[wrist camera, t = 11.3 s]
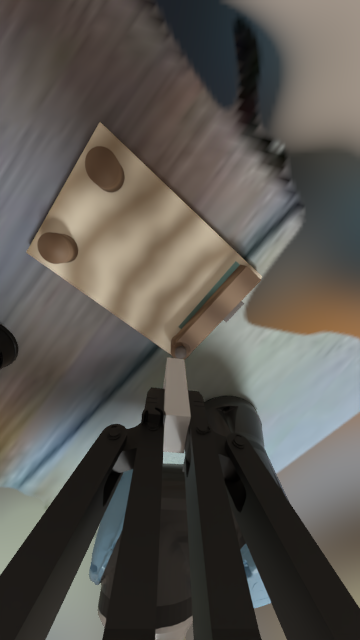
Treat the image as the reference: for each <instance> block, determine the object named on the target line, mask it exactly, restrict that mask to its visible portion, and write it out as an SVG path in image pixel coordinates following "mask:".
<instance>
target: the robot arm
mask: <svg viewBox="0 0 360 640" xmlns="http://www.w3.org/2000/svg"><path fill="white" fill-rule="evenodd" d="M184 450H185V459H184V464H163V452H176V453H184ZM99 524H100V526H99ZM98 526H99V529H98V533H97V537H96V541H95V544H94V549H93V553H92V562H91V567H90V571H89V577H90V580H91V581H93V582H95V584H96V585H99V584H100V583H101V592H100V598H99V604H98V615H99V617H100V619H101V622H102V624H103V626H104V628H105V629H104V634H103V639H102V640H186V637H185V635H186V632H187V630H188V629H189V627H190V625H191V623H192V622H193V633H194V640H262V639H261V637H260V633H259V629H258V625H257V621H256V616H255V612H254V608H257V607H261V606H264V605H267V604H269V603H272V605H273V608H274V610H275V612H276V615H277V617H278V620H279V622H280V624H281V627H282V629H283V631H284V633H285V636H286V638H287V640H360V608H359V607H358V605H357V604H356V602H355V601H354V599H353V598H352V596H351V595H350V593H349V592H348V590H347V589H346V587H345V586H344V584H343V583H342V581H341V580H340V578H339V577H338V575H337V574H336V572H335V571H334V569H333V568H332V566H331V565H330V563H329V562H328V560H327V558H326V557H325V555H324V554H323V553H322V551H321V550H320V548H319V546H318V545H317V543H316V542H315V540H314V539H313V538H312V536H311V534H310V533H309V531H308V530H307V528H306V527H305V525H304V524H303V522H302V521H301V519H300V518H299V516H298V515H297V513H296V512H295V510H294V509H293V507H292V506H291V504H290V503H289V501H288V498H287V496H286V494H285V492H284V490H283V488H282V485H281V483H280V481H279V479H278V477H277V475H276V473H275V471H274V468H273V466H272V464H271V462H270V460H269V458H268V456H267V453H266V451H265V449H264V440H263V433H262V424H261V420H260V418H259V416H258V414H257V412H256V410H255V408H254V407H253V406H252V405H251V404H250V403H249V402H247V401H245V400H243V399H241V398H238V397H232V396H223V397H217V398H214V399H211V400H209V401H207V402H205V403H204V401H203V397H202V395H201V394H200V393H199V392H197V391H188V388H187V379H186V370H185V362H184V359H176V358H167V362H166V370H165V377H164V385H163V389H160V388H151V389H150V390H149V391H148V393H147V398H146V404H145V409H144V411H143V413H142V421H141V423H140V424H139V425H138V426H136V427H134V428H130V429H126V428H125V427H124V426H122V425H120V424H113V425H110V426H108V427H106V428H105V429H104V430H103V431H102V433H101V434H100V435H99V437H98V438H97V440H96V441H95V443H94V444H93V445H92V447H91V448H90V450H89V451H88V452H87V454H86V455H85V457H84V458H83V459H82V461H81V462H80V464H79V465H78V466H77V468H76V469H75V471H74V472H73V474H72V475H71V476H70V478H69V479H68V481H67V482H66V483H65V485H64V486H63V488H62V489H61V490H60V492H59V493H58V495H57V496H56V498H55V499H54V500H53V502H52V503H51V505H50V506H49V507H48V509H47V510H46V512H45V513H44V515H43V516H42V517H41V519H40V520H39V522H38V523H37V524H36V526H35V527H34V529H33V530H32V531H31V533H30V534H29V536H28V537H27V539H26V540H25V541H24V543H23V544H22V545H21V547H20V548H19V550H18V551H17V553H16V554H15V555H14V557H13V558H12V560H11V561H10V562H9V564H8V565H7V567H6V568H5V570H4V571H3V572H2V574H1V575H0V640H45V639H46V637H47V635H48V633H49V631H50V629H51V626H52V624H53V622H54V620H55V618H56V615H57V613H58V612H59V609H60V607H61V605H62V603H63V601H64V599H65V597H66V594H67V592H68V590H69V588H70V586H71V584H72V582H73V580H74V577H75V575H76V573H77V571H78V569H79V567H80V565H81V562H82V560H83V558H84V556H85V554H86V552H87V550H88V548H89V545H90V543H91V541H92V539H93V537H94V535H95V533H96V530H97V528H98Z"/></svg>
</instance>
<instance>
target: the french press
mask: <svg viewBox="0 0 360 640" xmlns="http://www.w3.org/2000/svg"><path fill="white" fill-rule="evenodd" d="M0 352H1V356H2V361H0V369H2V368H3V367H6V366H8V365H10V364H11V363H13V362H14V360H15V359H16V357H17V355H18V345H17V342H16V340H15V338H14V336H13V335H12V334H11V333H10V332H9V331H8V330H7V329H6V328H4V327H3V326H1V325H0Z"/></svg>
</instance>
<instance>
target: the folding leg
mask: <svg viewBox="0 0 360 640" xmlns="http://www.w3.org/2000/svg"><path fill="white" fill-rule="evenodd" d="M260 281H261V279H260V278H259V277H258V276H257V275H256V274H255V273H254V272H253V271H252V270H251V269H250V268H249V267H248V266H245V265H241V264H240V265H239V266H238V267H237V269H236V270H235V271H234V272H233V273H232V274H231V275H230V276H229V277H228V278H227V280H226V281H225V282H224V283H223V284H222V285H221V286H220V287H219V288H218V289H217V290H216V292H215V293H214V294H213V295H212V296H211V297H210V298H209V299H208V300H207V301H206V303H205V304H204V305H203V306H202V307H201V308H200V309H199V310H198V311H197V312H196V314H195V315H194V316H193V317H192V318H191V319H190V320H189V321H188V322H187V323H186V324H185V326H184V327H183V328H182V329H181V330H180V331H179V332H178V333H177V334H176V335H175V336H174V337H173V338H172V340H171V355H172V356H173V357H174V358H176V359H186V358H187V357H188V356H189V355H190V353H191V352H192V351H193V350H194V349H195V348H196V347H197V346H198V345H199V344H200V343H201V342H202V341H203V340H204V339H205V338H206V337H207V336H208V335H209V334H210V333H211V332H212V331H213V330H214V329H215V328H216V326H217V325H218V324H219V323H220V322H221V321H222V320H223V319H224V318H225V317H226V316H227V315H228V314H229V313H230V312H231V311H232V310H233V309H234V308H235V307H236V306H237V305H238V304H239V303H240V302H241V301H242V300H243V298H244V297H245V296H246V295H247V294H248V293H249V292H250V291H251V290H252V289H253V288H254V287H255V286H256V285H257V284H258V283H259V282H260Z"/></svg>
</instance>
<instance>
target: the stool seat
mask: <svg viewBox="0 0 360 640" xmlns="http://www.w3.org/2000/svg"><path fill="white" fill-rule="evenodd" d="M27 253H28V254H29V255H31V256H32V257H34V258H35V259H36V260H38V261H39V262H41V263H42V264H43V265H45V266H46V267H48V268H49V269H51V270H52V271H53V272H55V273H56V274H58V275H59V276H60V277H62V278H63V279H65V280H66V281H68V282H69V283H70V284H72V285H73V286H75V287H76V288H77V289H79V290H80V291H82V292H83V293H84V294H86V295H87V296H89V297H90V298H92V299H93V300H94V301H96V302H97V303H99V304H100V305H101V306H103V307H104V308H106V309H107V310H109V311H110V312H111V313H113V314H114V315H116V316H117V317H118V318H120V319H121V320H123V321H124V322H125V323H127V324H128V325H130V326H131V327H133V328H134V329H135V330H137V331H138V332H140V333H141V334H142V335H144V336H145V337H147V338H148V339H149V340H151V341H152V342H154V343H155V344H157V345H158V346H159V347H161V348H162V349H164V350H165V351H166V352H168V353H169V354H171V340H172V338H173V337H174V336H175V335H176V334H177V333H178V332H179V331H180V330H181V329H182V328H183V327H184V326H185V324H186V323H187V322H188V321H189V320H190V319H191V318H192V317H193V316H194V315H195V314H196V312H197V311H198V310H199V309H200V308H201V307H202V306H203V305H204V304H205V303H206V301H207V300H208V299H209V298H210V297H211V296H212V295H213V294H214V293H215V292H216V290H217V289H218V288H219V287H220V286H221V285H222V284H223V283H224V282H225V281H226V280H227V278H228V277H229V276H230V275H231V274H232V273H233V272H234V271H235V270H236V269H237V267H238V266H239V265H240V264H241V265H245V266H248V267H249V268H250V269H251V270H252V271H253V272H254V273H255V274H256V275H257V276H258V277H259V278H260V279H261V278H262V276H261V275H260V274H259V273H258V272H257V271H256V270H255V269H254V268H252V267H251V266H250V265H249V264H248V263H247V262H246V261H245V260H244V259H243V258H242V257H241V256H240V255H239V254H238V253H237V252H236V251H235V250H234V249H233V248H232V247H230V246H229V245H228V244H227V243H226V242H225V241H224V240H223V239H222V238H221V237H220V236H219V235H218V234H217V233H216V232H215V231H214V230H213V229H212V228H211V227H210V226H208V225H207V224H206V223H205V222H204V221H203V220H202V219H201V218H200V217H199V216H198V215H197V214H196V213H195V212H194V211H193V210H192V209H191V208H190V207H189V206H188V205H186V204H185V203H184V202H183V201H182V200H181V199H180V198H179V197H178V196H177V195H176V194H175V193H174V192H173V191H172V190H171V189H170V188H169V187H168V186H167V185H166V184H164V183H163V182H162V181H161V180H160V179H159V178H158V177H157V176H156V175H155V174H154V173H153V172H152V171H151V170H150V169H149V168H148V167H147V166H146V165H145V164H144V163H142V162H141V161H140V160H139V159H138V158H137V157H136V156H135V155H134V154H133V153H132V152H131V151H130V150H129V149H128V148H127V147H126V146H125V145H124V144H123V143H122V142H121V141H119V140H118V139H117V138H116V137H115V136H114V135H113V134H112V133H111V132H110V131H109V130H108V129H107V128H106V127H105V126H104V125H103V124H102V123H101V122H100V123H99V124H98V126H97V128H96V130H95V131H94V133H93V135H92V137H91V138H90V140H89V142H88V144H87V146H86V147H85V149H84V151H83V153H82V154H81V156H80V158H79V160H78V162H77V163H76V165H75V167H74V169H73V170H72V172H71V174H70V176H69V177H68V179H67V181H66V183H65V185H64V186H63V188H62V190H61V192H60V193H59V195H58V197H57V199H56V201H55V202H54V204H53V206H52V208H51V209H50V211H49V213H48V215H47V217H46V218H45V220H44V222H43V224H42V225H41V227H40V229H39V231H38V232H37V234H36V236H35V238H34V240H33V241H32V243H31V245H30V247H29V248H28V250H27ZM243 304H244V303H243V302H242V301H241V302H240V303H239V304H238V305H237V306H236V307H235V308H234V309H233V310H232V311H231V312H230V313H229V314H228V315H227V316H226V317H225V318H224V319H223V320H224V321H225V322H227V321H228V320H229V319H230V318H231V317H232V316H233V315H234V314H235V313H236V312H237V311H238V309H239V308H240V307H241V306H242V305H243ZM190 354H191V353H190ZM184 360H185V359H184Z"/></svg>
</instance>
